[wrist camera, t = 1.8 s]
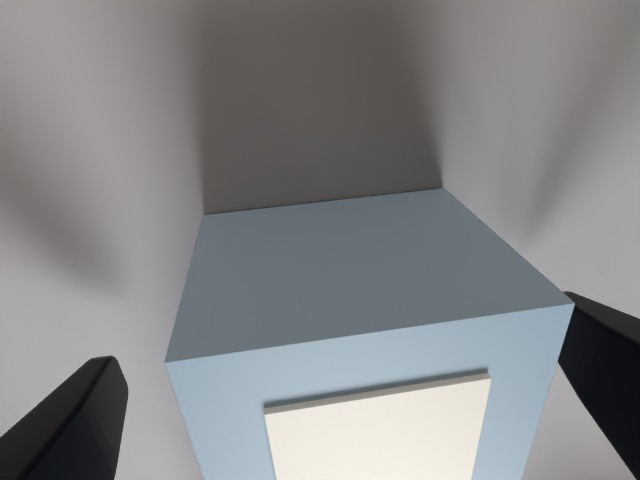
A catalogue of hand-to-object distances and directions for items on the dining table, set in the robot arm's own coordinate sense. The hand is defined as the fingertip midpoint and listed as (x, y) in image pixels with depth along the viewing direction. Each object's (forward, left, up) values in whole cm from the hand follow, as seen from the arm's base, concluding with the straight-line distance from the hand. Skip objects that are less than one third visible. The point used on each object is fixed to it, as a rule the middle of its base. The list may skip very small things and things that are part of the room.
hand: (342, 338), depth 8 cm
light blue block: (0, 0, -1) cm, 1 cm away
